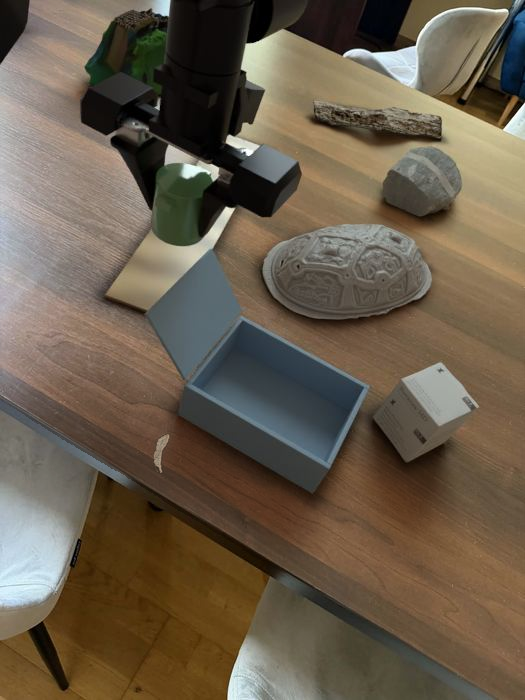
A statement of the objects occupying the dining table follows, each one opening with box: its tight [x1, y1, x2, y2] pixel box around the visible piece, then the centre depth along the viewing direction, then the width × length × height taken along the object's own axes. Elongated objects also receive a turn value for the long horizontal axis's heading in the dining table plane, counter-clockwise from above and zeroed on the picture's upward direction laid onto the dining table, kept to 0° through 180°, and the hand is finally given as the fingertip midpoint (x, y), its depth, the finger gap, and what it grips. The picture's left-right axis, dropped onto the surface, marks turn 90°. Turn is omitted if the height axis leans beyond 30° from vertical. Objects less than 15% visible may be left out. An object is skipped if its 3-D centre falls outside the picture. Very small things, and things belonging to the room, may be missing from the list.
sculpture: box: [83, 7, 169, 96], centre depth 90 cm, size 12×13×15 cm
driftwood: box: [312, 100, 443, 140], centre depth 103 cm, size 25×10×5 cm
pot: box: [150, 162, 214, 246], centre depth 53 cm, size 7×5×6 cm
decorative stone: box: [382, 145, 463, 218], centre depth 89 cm, size 13×10×6 cm
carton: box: [177, 315, 371, 494], centre depth 57 cm, size 15×11×5 cm
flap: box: [144, 249, 243, 381], centre depth 54 cm, size 7×11×1 cm
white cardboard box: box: [372, 361, 480, 463], centre depth 59 cm, size 6×6×7 cm
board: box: [104, 135, 261, 313], centre depth 76 cm, size 40×8×1 cm, turn 164°
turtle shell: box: [262, 223, 433, 320], centre depth 74 cm, size 16×25×7 cm, turn 115°
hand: (178, 221), depth 55 cm, fingers closed on pot, 5 cm apart
